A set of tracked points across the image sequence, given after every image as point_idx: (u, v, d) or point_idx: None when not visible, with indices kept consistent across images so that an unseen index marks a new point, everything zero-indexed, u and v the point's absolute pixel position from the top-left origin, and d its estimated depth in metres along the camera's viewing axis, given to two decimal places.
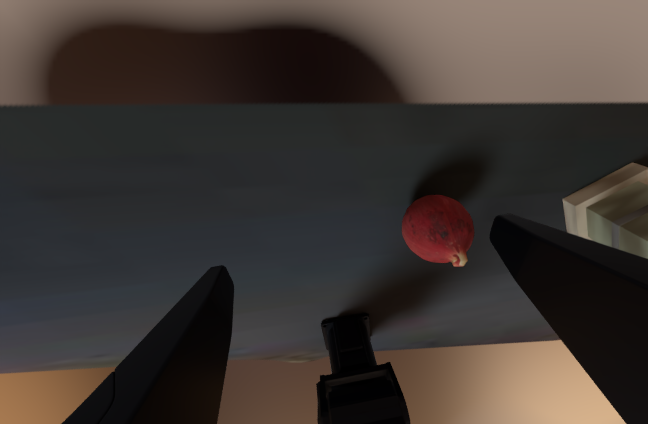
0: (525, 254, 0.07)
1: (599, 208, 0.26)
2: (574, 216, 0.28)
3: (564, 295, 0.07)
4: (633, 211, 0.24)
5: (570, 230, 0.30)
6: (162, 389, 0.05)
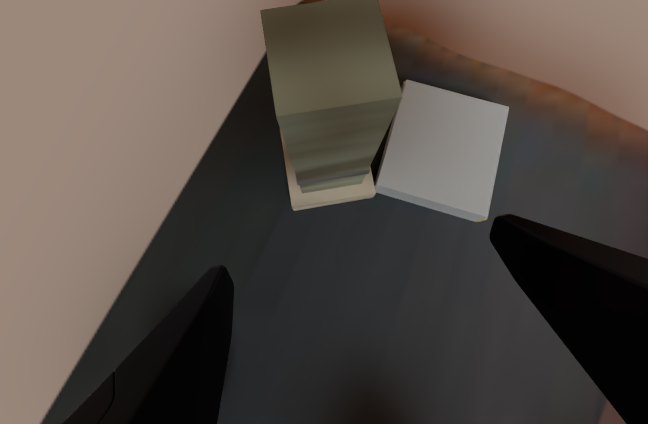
0: (525, 254, 0.07)
1: None
2: (314, 204, 0.21)
3: (564, 295, 0.07)
4: None
5: (351, 199, 0.22)
6: (162, 389, 0.05)
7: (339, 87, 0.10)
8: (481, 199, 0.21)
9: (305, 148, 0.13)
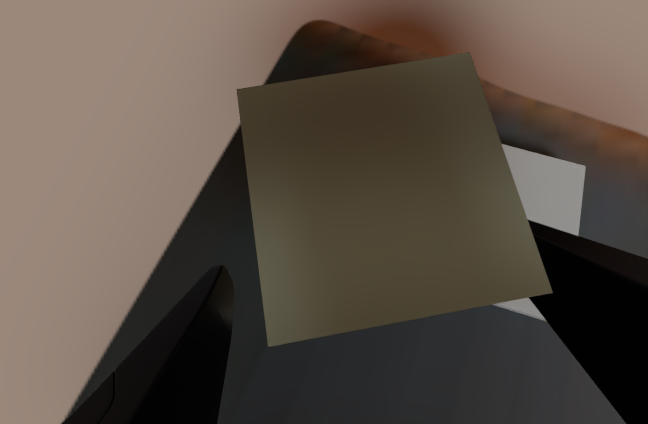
0: None
1: None
2: None
3: (564, 295, 0.07)
4: None
5: None
6: (162, 389, 0.05)
7: (409, 269, 0.05)
8: None
9: None
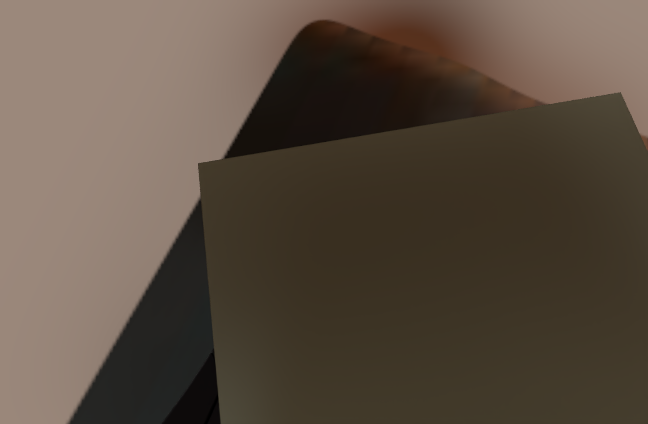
0: None
1: None
2: None
3: None
4: None
5: None
6: None
7: None
8: None
9: None
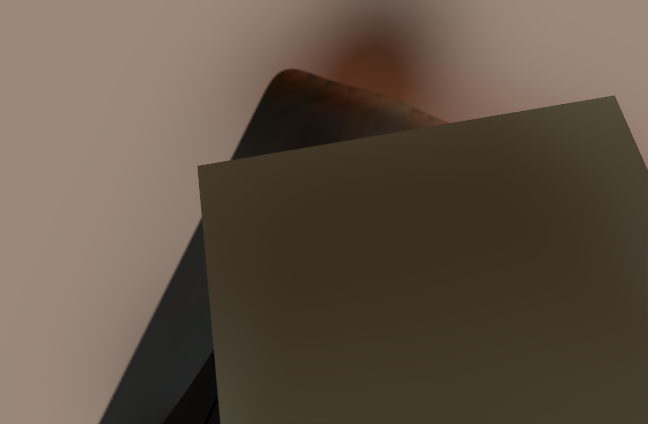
0: None
1: None
2: None
3: None
4: None
5: None
6: None
7: None
8: None
9: None
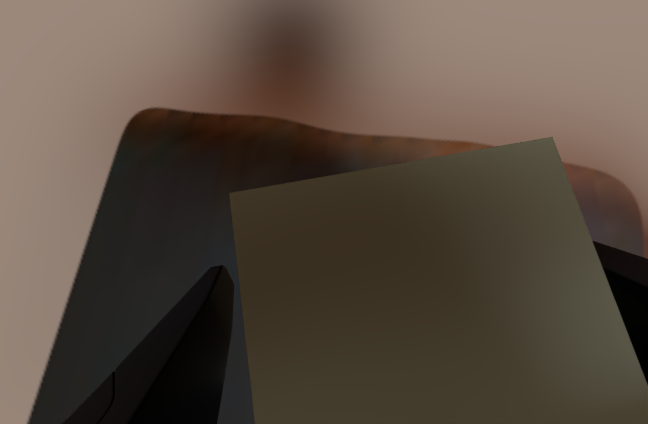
0: None
1: None
2: None
3: None
4: None
5: None
6: (162, 389, 0.05)
7: None
8: None
9: None
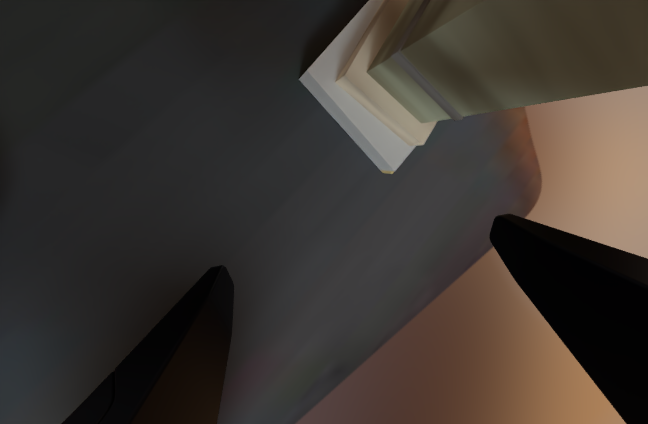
0: (525, 254, 0.07)
1: (378, 58, 0.14)
2: (366, 96, 0.16)
3: (564, 295, 0.07)
4: (410, 22, 0.13)
5: (394, 129, 0.18)
6: (162, 389, 0.05)
7: None
8: (399, 151, 0.19)
9: (519, 11, 0.08)
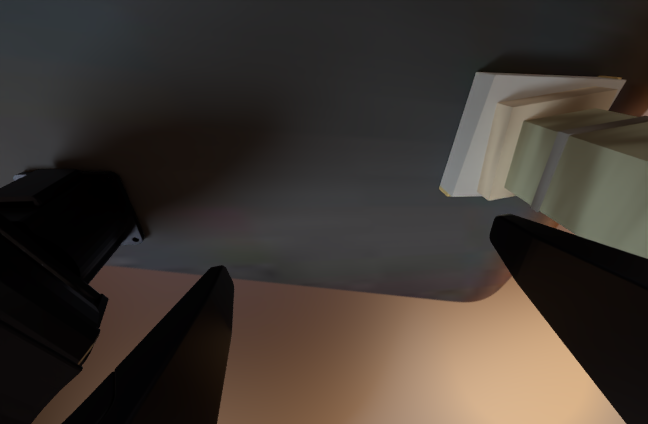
0: (525, 254, 0.07)
1: (542, 122, 0.16)
2: (503, 135, 0.18)
3: (564, 295, 0.07)
4: (590, 126, 0.15)
5: (486, 172, 0.20)
6: (162, 389, 0.05)
7: None
8: (469, 188, 0.21)
9: None
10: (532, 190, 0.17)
